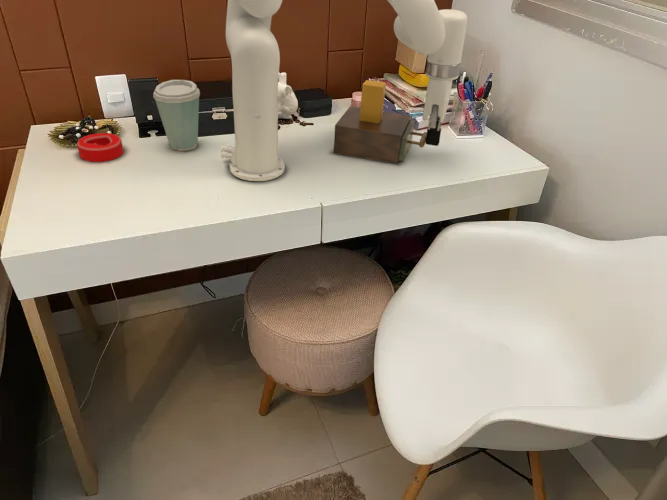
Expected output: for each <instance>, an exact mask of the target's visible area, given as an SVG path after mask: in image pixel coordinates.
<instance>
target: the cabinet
mask: <svg viewBox="0 0 667 500" xmlns="http://www.w3.org/2000/svg"><path fill="white" fill-rule="evenodd" d="M411 117H412V115H410V114H402V113H396V112H389V111H384V110H383V115H382V119H381V121H380V122H379V124H378V123H372V122H365V121H359V119H360V107H358V106H351V105H350V106H349V107H348V108H347V110H346V111H345V112H344V113H343V114H342V115H341V117H340V118H339V119H338V121H337V122H336V123H335V125H334V135H333V136H334V137H333V154H337V155H341V156H342V155H343V156H347V157H354V158H360V159H366V160H372V161H376V162H384V163H389V164H394V165H398V164H399V162H400V160H399V153H400V146H401V139H402V136H403V134H404V132H405V130H406V128H407V126H408V124H409V122H410V120H412V119H411Z"/></svg>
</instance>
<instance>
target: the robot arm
mask: <svg viewBox="0 0 667 500" xmlns="http://www.w3.org/2000/svg"><path fill="white" fill-rule="evenodd" d="M386 1H387V2H388V3H389V5H390V6H391V7H392V8H393V10H394V12H395V13H396V14H397V16H396V17H395V19H394V21H393V32H394V35H395V37H396V38H397V40H399V42H400V43H402V44H403V45H404V46H406V47H407V48H410V49H411V50H412V51H414V52H415V53H417V54H419V55H422V56H427V60H426V68H425V76H426V77H427V78H428V81H427V86H426V87H427V88H426V92H425V98H424V106H423V112H422V120H423V121H427V120H428V126H427V128H426V132H427V136H426V142H425V145H428V146H435V147H439V145H440V140H441V132H442V122H444V119H445V116H446V113H447V111H448V107H449V103H450V98H451V93H452V86H453V81H455V80H457V79H459V75H460V69H461V63H462V59H463V58H462V57H463V51H464V44H465V39H466V32H467V25H468V16H467V14H466V13H465V11H462V10H458V9H451V8H447V9H446V8H445V9H439V8H438V6H437V4H436V1H435V0H386ZM282 3H283V0H227V5H226V6H227V8H226V21H225V42H226V46H227V49H228V52H229V54H230V59H231V80H232V81H231V82H232V83H231V91H232V105H233V107H232V109H233V125H234V126H233V127H234V128H233V129H234V144H235V145H234V146H229V145H225V144H222V145H221V147H220V156H221V158H222V159H223V158H224V159H229V160H231V161H230V163H229V172H230V174H232V175H233V176H234V177H235V178H238V179H240V180H243V181H249V182H266V181H271V180H274V179H276V178H278V177H280V176H282V175H283V174H284V173H285V170H286V169H285V167H286V166H285V165H286V164H285V162H284V161H283V160H282V159H281V158H279V118H278V81H279V79H278V75H279V73H280V66H281V65H280V64H281V54H280V48H279V44H278V41H277V39H276V38H275V35H274V34H273V32H272V31H271V26H272V18H273V16H274V15H275V14H276V13H278V11H279V9H280V8H281V6H282Z"/></svg>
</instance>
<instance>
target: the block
mask: <svg viewBox="0 0 667 500" xmlns="http://www.w3.org/2000/svg"><path fill="white" fill-rule="evenodd" d="M361 85H362V86H361V96H360V97H361V98H360V107H359V108H360V119H359V121H365V122H372V123H378V124H379V122H380V121H381V119H382V115H383V111H384V107H385V96H386V95H385V94H386V86H387V82H383V81H376V80H370V79H366V80H365V81H364V82H363V83H362V84H361Z"/></svg>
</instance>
